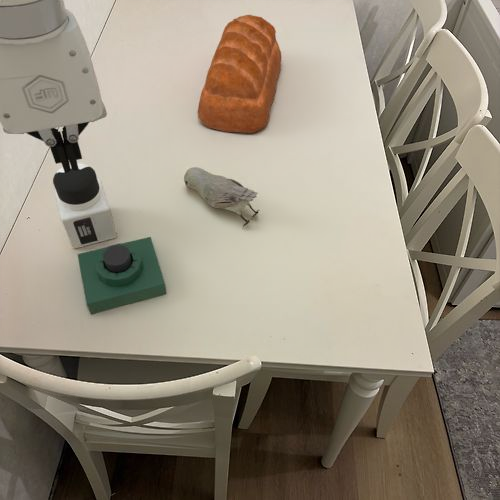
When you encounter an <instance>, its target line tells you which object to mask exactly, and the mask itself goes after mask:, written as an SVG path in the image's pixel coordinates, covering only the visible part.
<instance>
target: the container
mask: <svg viewBox="0 0 500 500" xmlns="http://www.w3.org/2000/svg"><path fill="white" fill-rule="evenodd" d="M77 164H78V169H79V170H78V171H74V170H72V168H71V165H70V168H71V171H69V172H68V173H65V172H64V169H63V166H62V167H60V168H59V169H58V170H57V171H56V172H55V173H54V175H53V178H52V183H53V186H54V195H55V200H56V203H57V204H56V205H57V208H58V213H59V214H58V215H59V218H60V222H61V225H62V227H63V230H64V231H65V234H66V237H67V239H68V241H69V244H70V247H71V248H72V249H78V248H82V247H85V246H90V245H93V244H98V243H102V242H105V241H109V240H112V239H116V238H118V233H117V230H116V227H115V222H114V220H113V216H112V212H111V209H110V208H111V207H110V205H109V201H108V198H107V195H106V192H105V188H104V184H103V181H102V179H101V178H100V177H97V174H96V171H95V169H94V168H93V167H91V165H88V164H86V163H81V162H77Z"/></svg>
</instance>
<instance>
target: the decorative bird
mask: <svg viewBox="0 0 500 500" xmlns="http://www.w3.org/2000/svg"><path fill="white" fill-rule="evenodd" d="M183 181H184V185H185V187H186V188H188V189H193V190H195V191H197V193H198V194H199V195H200V196H201V197H202V198H203V199H204V201H205V202H206V203H207V204H208V205H209V206H211V207H212V208H214V209H215V208H216V209H219V210H220V209H224V210H226V211H230V212H234V213H236V214H237V215H239V216H240V218H241V219H242V221H244V222H245V223H243V225H242V230H244V227H246V226H247V225H248V224H249V223H250V221H252V219H253V218H255V217H256V216H257V215H258V214H259V211H260V209H257V210H255V208H253V207H252V205H251V203H250V202H252V201H254V199H255V198H257V195H258V193H259V192H256V191H254V190H252V189H249V188H248V187H245V186H244V185H243V184H241V183H240V182H239V181H237V180H235V179H233V178H228V177H225V176H223V175H219V174H214V173H212V172H208V171H207V170H205V169H203V168H202V167H197V166H194V167H190V168H188V169H187V170H186V171H185V174H184V176H183ZM246 206H248V207H249V208H250V210H251V211H252V212H253V213H254V214H252V216H251V218H248V219H245V217H244V216H243V214H242V213H241V211H242V210H243V209H245V208H246Z"/></svg>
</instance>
